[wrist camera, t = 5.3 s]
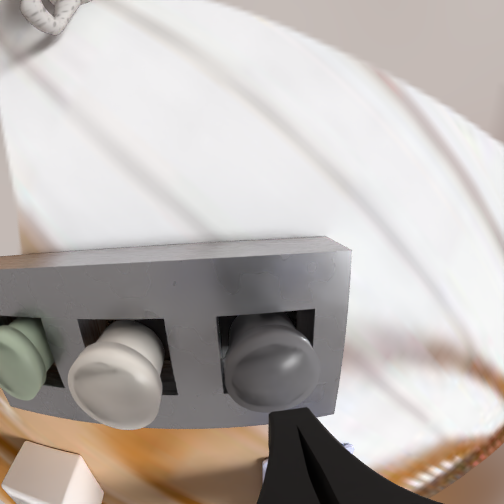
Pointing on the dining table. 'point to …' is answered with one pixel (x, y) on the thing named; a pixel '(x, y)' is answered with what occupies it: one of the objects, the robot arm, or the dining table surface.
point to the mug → (40, 18)
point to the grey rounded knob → (269, 363)
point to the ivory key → (120, 376)
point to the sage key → (24, 357)
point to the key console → (182, 315)
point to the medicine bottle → (50, 477)
